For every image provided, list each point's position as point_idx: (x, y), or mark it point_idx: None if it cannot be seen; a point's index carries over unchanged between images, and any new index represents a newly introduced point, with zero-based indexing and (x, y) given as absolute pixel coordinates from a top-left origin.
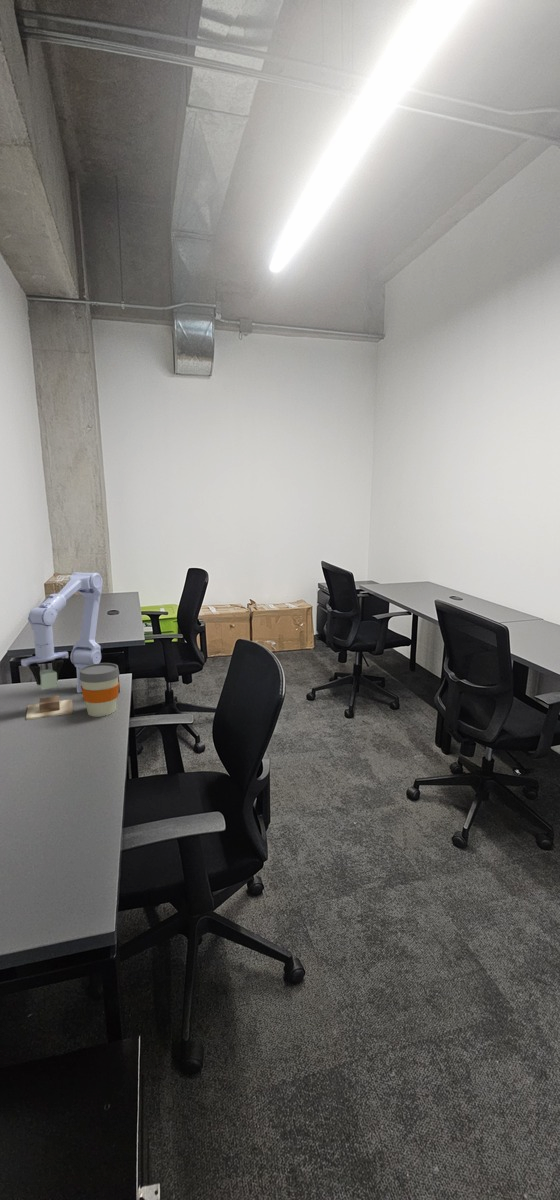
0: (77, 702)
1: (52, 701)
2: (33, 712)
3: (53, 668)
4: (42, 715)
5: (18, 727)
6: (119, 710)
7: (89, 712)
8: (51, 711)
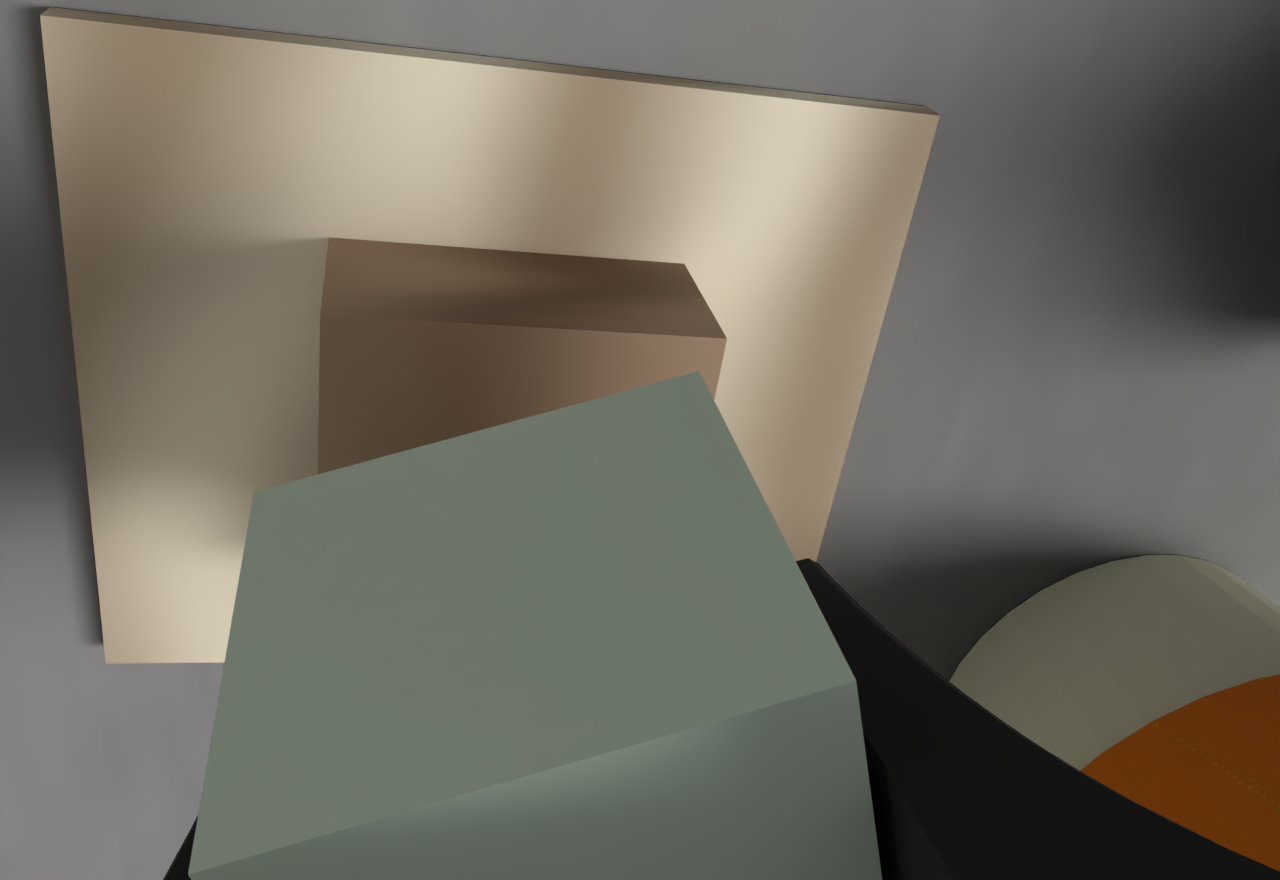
0: (975, 239)
1: None
2: (209, 476)
3: (920, 877)
4: None
5: (34, 826)
6: None
7: None
8: None
